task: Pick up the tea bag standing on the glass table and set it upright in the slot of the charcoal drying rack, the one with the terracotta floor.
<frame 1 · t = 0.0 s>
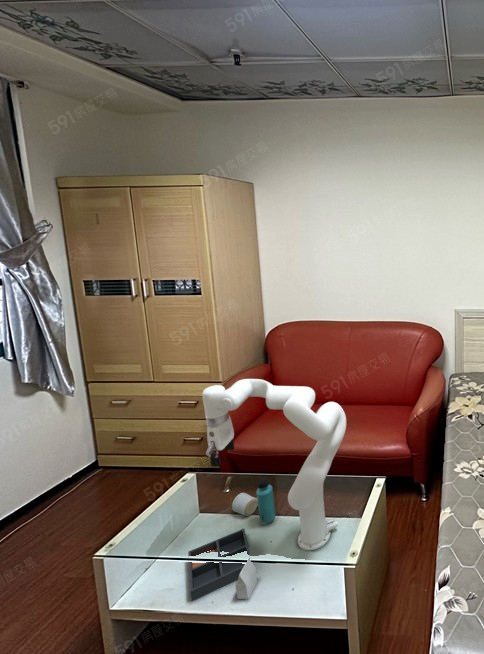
hand: (223, 457, 158), 37 cm above the table, tool pointing down, fingers open, 9 cm apart
ceramic mug: (248, 509, 181), on the table
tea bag: (247, 590, 145), on the table
beverage bottle: (268, 521, 175), on the table
rack: (220, 566, 154), on the table
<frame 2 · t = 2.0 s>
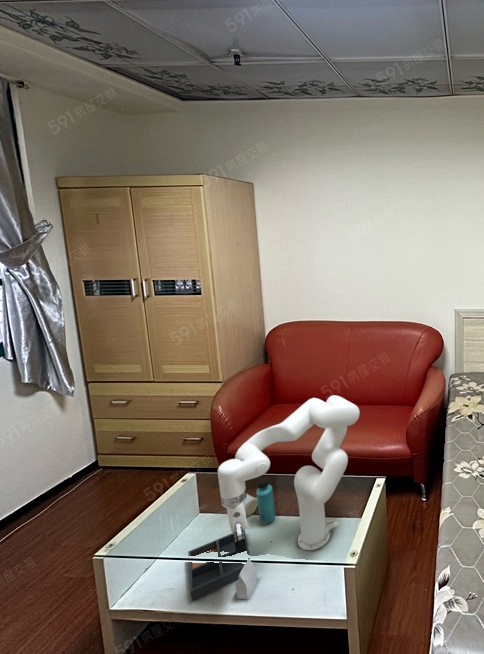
hand: (239, 538, 141), 20 cm above the table, tool pointing down, fingers open, 9 cm apart
nothing on the table moved.
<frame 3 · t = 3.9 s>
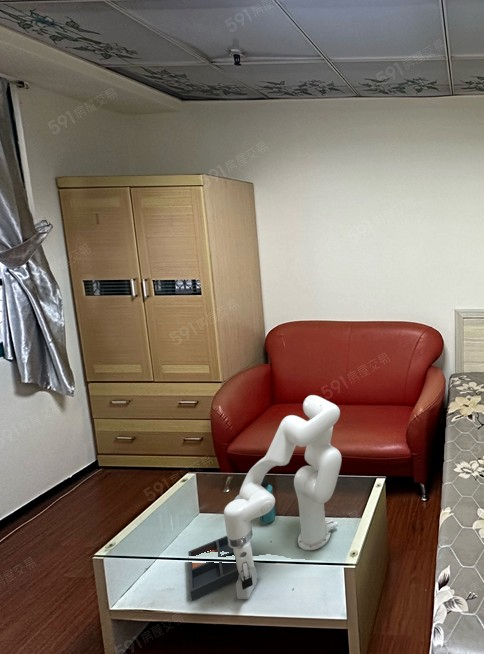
hand: (245, 577, 143), 5 cm above the table, tool pointing down, fingers closed on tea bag, 7 cm apart
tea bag: (247, 590, 145), on the table, touching gripper
everything else where it was.
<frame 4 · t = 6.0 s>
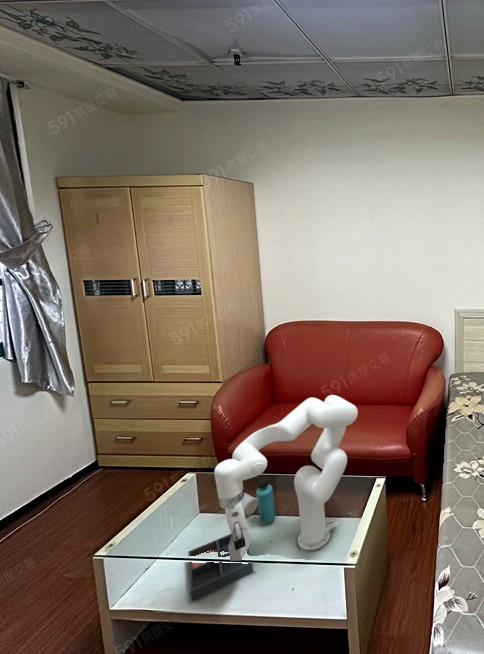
hand: (238, 539, 141), 20 cm above the table, tool pointing down, fingers closed on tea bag, 7 cm apart
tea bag: (240, 552, 143), point 15 cm above the table, touching gripper
everything else where it was.
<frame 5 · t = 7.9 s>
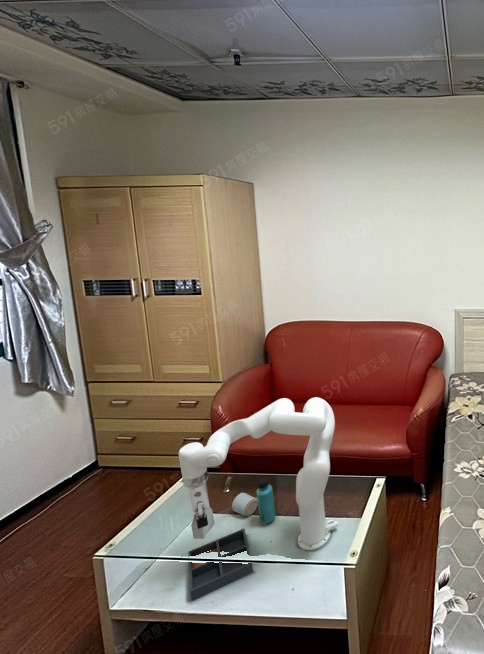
hand: (202, 518, 149), 21 cm above the table, tool pointing down, fingers closed on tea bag, 7 cm apart
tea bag: (204, 531, 151), point 15 cm above the table, touching gripper
everything else where it was.
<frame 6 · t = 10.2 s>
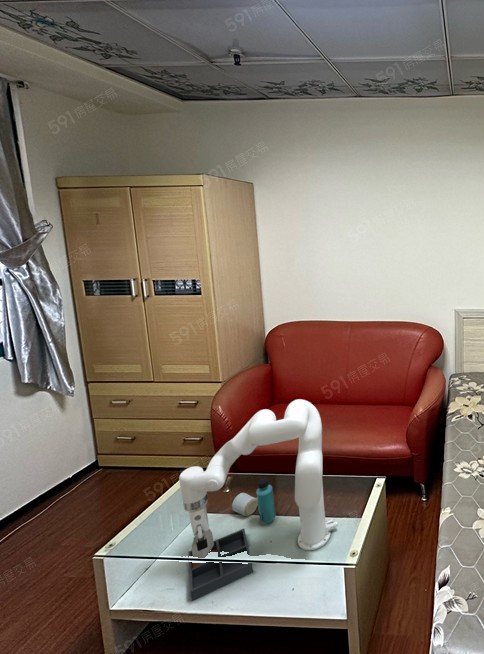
hand: (202, 540, 153), 10 cm above the table, tool pointing down, fingers closed on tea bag, 7 cm apart
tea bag: (204, 552, 154), point 5 cm above the table, touching gripper
everything else where it was.
when the fingers open (6 cm above the table, at t = 11.8 s): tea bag stays where it is, resting on rack.
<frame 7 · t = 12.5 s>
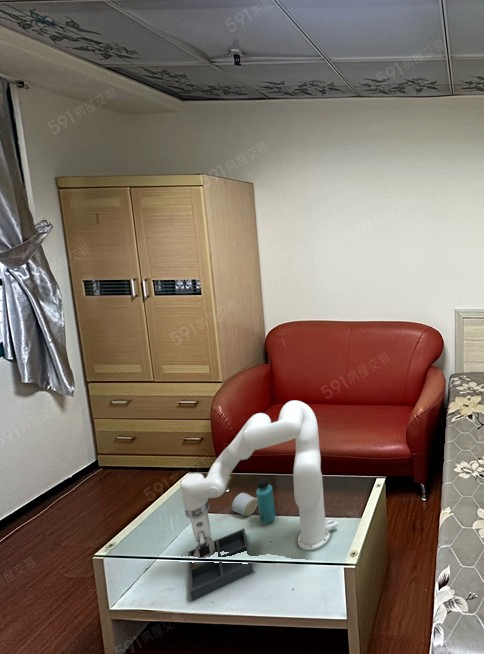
hand: (204, 545, 153), 8 cm above the table, tool pointing down, fingers open, 9 cm apart
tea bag: (205, 561, 155), point 1 cm above the table, touching rack
everything else where it was.
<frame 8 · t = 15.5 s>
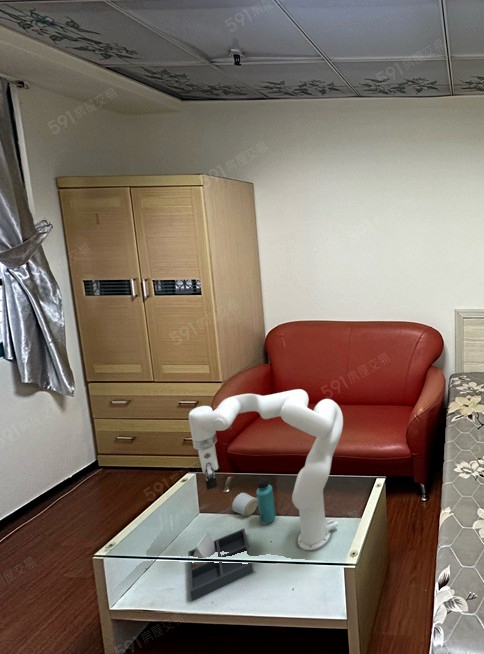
hand: (211, 480, 153), 32 cm above the table, tool pointing down, fingers open, 9 cm apart
nothing on the table moved.
at the end: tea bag 0.1 cm from the target spot in the rack, point 0.6 cm above the rack's base; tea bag tilted 0°; the gripper is holding nothing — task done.
